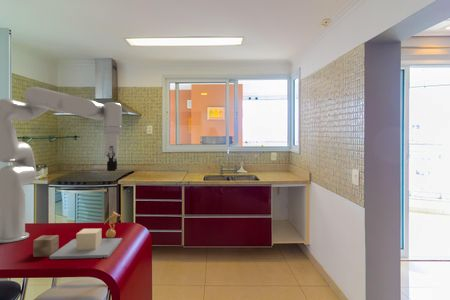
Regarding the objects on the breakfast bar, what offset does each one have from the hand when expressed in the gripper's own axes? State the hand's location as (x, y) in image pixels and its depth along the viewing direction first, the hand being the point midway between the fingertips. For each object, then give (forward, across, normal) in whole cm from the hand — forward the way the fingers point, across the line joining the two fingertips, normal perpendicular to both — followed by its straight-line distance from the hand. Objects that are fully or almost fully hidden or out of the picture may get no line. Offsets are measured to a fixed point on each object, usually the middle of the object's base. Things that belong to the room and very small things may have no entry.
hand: (112, 170), depth 128 cm
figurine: (+30, +1, 0) cm, 30 cm away
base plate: (+30, +12, -7) cm, 33 cm away
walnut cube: (+30, +14, -22) cm, 39 cm away
